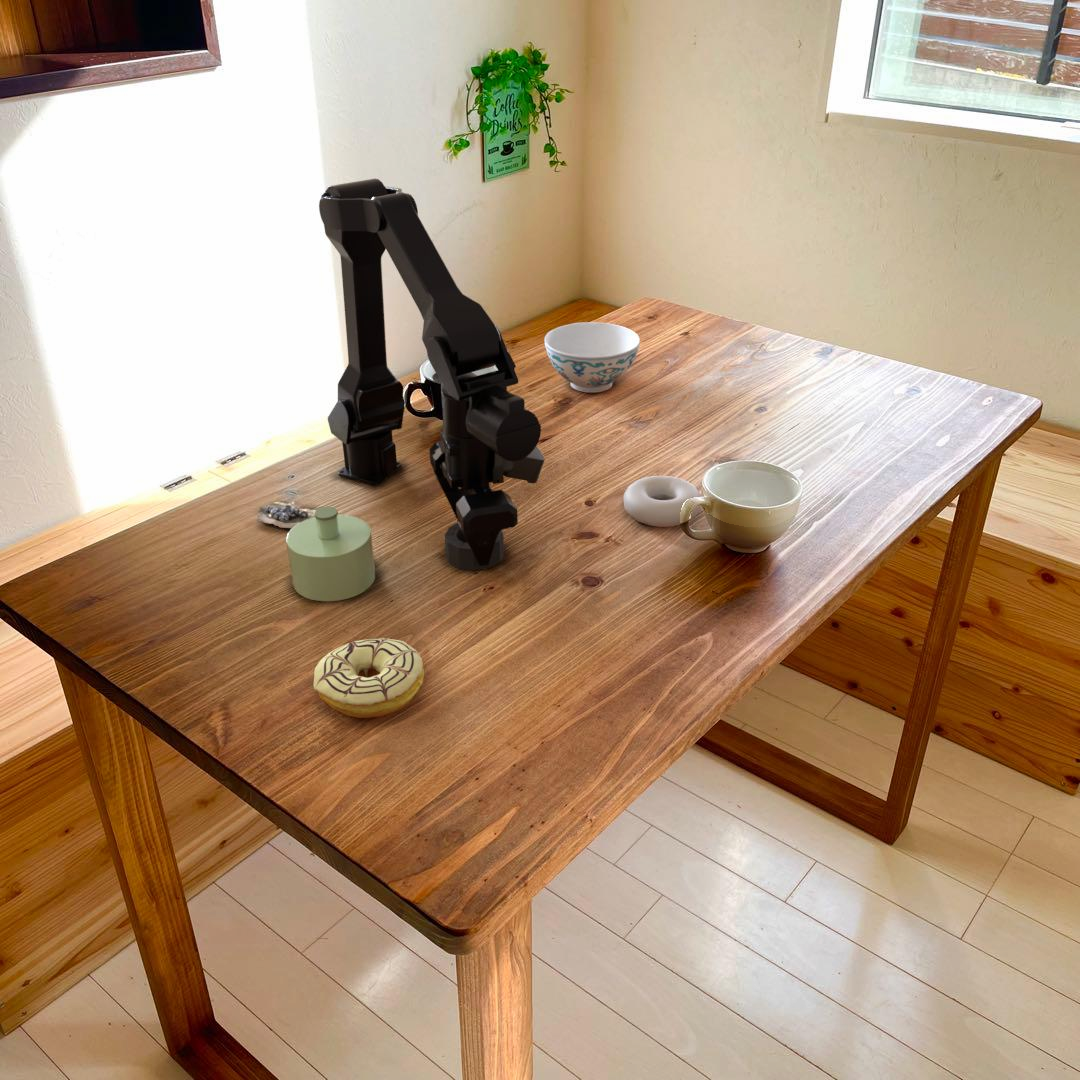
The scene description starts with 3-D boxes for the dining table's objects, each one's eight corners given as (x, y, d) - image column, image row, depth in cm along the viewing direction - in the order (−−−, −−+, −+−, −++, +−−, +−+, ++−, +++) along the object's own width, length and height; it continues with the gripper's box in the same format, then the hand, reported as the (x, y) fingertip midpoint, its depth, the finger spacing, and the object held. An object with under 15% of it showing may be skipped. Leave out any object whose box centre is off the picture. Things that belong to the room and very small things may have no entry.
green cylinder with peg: (275, 588, 128) (264, 521, 123) (326, 549, 135) (318, 484, 130) (342, 610, 124) (334, 541, 119) (391, 569, 131) (385, 502, 126)
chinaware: (641, 403, 171) (643, 356, 167) (544, 403, 171) (543, 357, 167) (635, 366, 184) (637, 321, 180) (545, 366, 184) (544, 322, 180)
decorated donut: (347, 651, 117) (343, 622, 115) (440, 670, 114) (438, 641, 112) (298, 711, 109) (293, 681, 107) (397, 734, 106) (394, 703, 104)
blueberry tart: (263, 504, 145) (261, 491, 144) (324, 503, 145) (322, 490, 144) (252, 530, 139) (250, 517, 138) (316, 529, 139) (314, 516, 138)
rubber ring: (439, 566, 131) (438, 545, 130) (456, 537, 137) (454, 516, 135) (494, 573, 130) (493, 551, 128) (509, 543, 136) (508, 522, 134)
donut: (617, 528, 139) (697, 535, 137) (618, 504, 137) (699, 510, 135) (628, 491, 147) (703, 496, 145) (628, 468, 145) (705, 473, 143)
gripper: (561, 453, 119) (561, 574, 127) (514, 387, 134) (517, 499, 142) (461, 467, 116) (467, 590, 124) (425, 398, 132) (432, 512, 140)
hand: (474, 545), depth 133 cm, fingers open, 9 cm apart
